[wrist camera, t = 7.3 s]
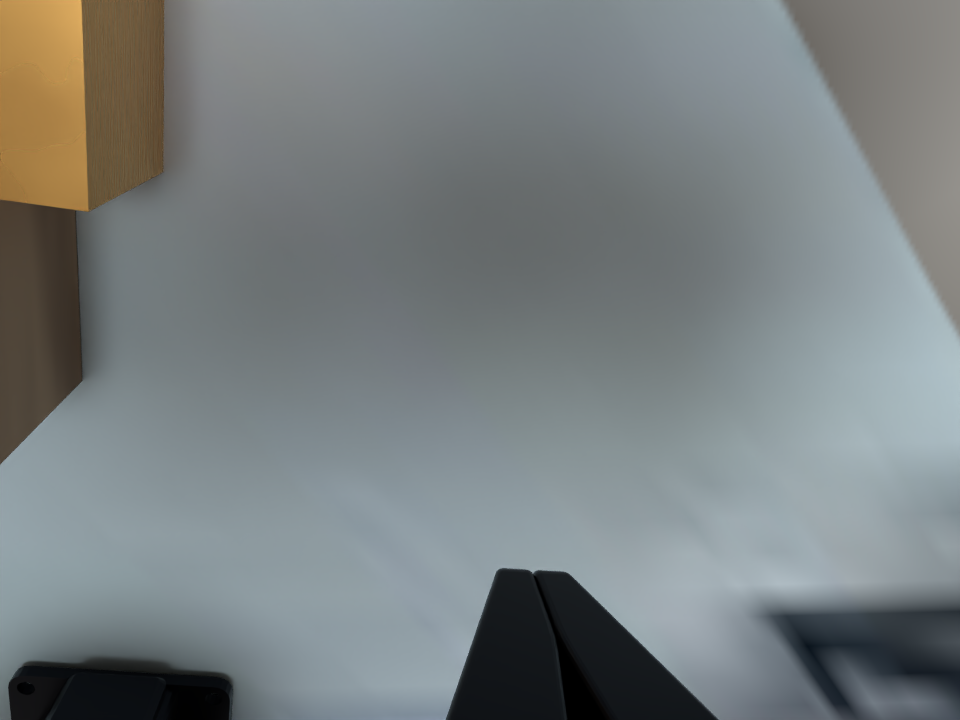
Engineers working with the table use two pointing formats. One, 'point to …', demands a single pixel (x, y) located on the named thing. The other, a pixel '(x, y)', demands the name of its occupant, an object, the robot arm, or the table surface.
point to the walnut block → (36, 316)
